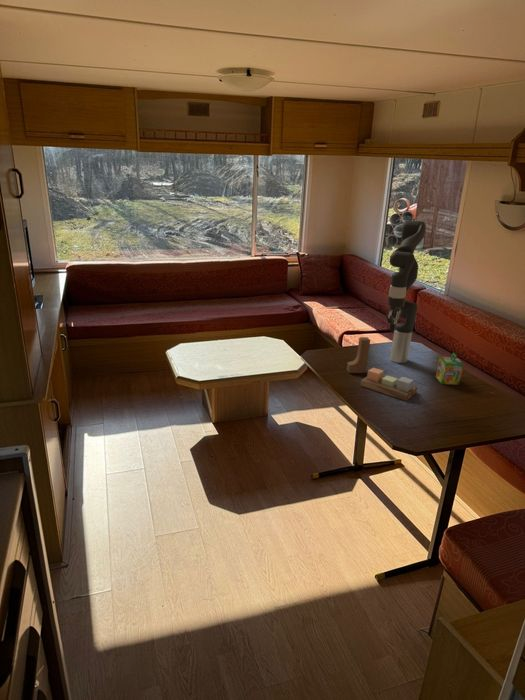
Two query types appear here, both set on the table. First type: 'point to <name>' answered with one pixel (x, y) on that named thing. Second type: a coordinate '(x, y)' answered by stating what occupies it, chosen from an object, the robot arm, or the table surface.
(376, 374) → the terracotta key
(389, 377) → the sage key
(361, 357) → the wooden block
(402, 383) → the slate key
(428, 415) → the table surface
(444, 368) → the chalk box
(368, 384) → the wooden tray
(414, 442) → the table surface
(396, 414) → the table surface
